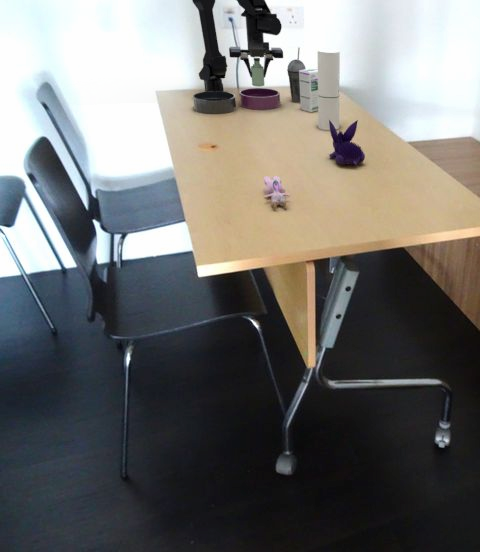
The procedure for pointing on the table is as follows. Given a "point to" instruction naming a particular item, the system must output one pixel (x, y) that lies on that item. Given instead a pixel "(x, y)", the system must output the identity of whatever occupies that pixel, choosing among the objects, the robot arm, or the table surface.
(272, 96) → the plum bowl
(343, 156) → the creature
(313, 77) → the syrup box
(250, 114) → the table surface
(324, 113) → the cylindrical container
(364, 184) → the table surface
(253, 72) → the bottle
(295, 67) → the beverage cup
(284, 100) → the table surface
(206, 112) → the charcoal bowl
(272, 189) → the rabbit figure
